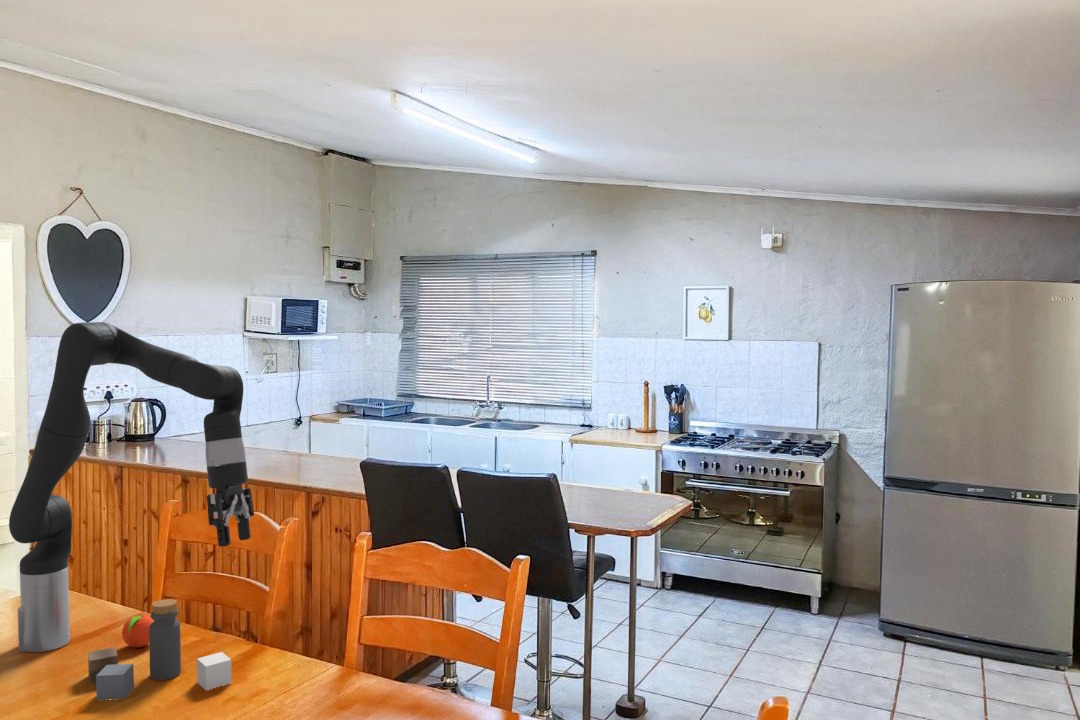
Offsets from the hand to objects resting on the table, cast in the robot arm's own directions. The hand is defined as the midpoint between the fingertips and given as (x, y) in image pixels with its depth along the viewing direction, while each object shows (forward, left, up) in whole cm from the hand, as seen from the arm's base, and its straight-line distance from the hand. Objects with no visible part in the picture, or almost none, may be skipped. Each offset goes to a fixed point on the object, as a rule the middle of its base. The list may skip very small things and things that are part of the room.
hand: (235, 542), depth 166 cm
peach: (-22, +24, -28) cm, 43 cm away
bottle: (-14, +7, -28) cm, 32 cm away
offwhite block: (-4, 0, -28) cm, 29 cm away
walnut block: (-26, +9, -28) cm, 39 cm away
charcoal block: (-22, 0, -28) cm, 36 cm away
